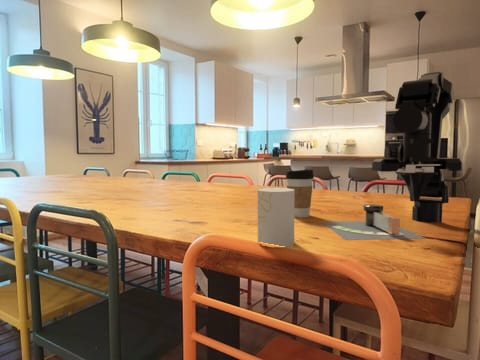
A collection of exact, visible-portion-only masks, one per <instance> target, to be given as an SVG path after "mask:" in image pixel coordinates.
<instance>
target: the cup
mask: <svg viewBox="0 0 480 360" xmlns="http://www.w3.org/2000/svg"><path fill="white" fill-rule="evenodd" d="M256 192H257V193H256V194H257V196H256V197H257V198H256V199H257V201H256V202H257V243H258V242H263V243H268V244H274V245H279V246H285V247H286V248H290V247H293V246H294V245H295V217H294V189H289V188H287V187H266V188H265V187H263V188H258V189H257V191H256Z"/></svg>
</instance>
